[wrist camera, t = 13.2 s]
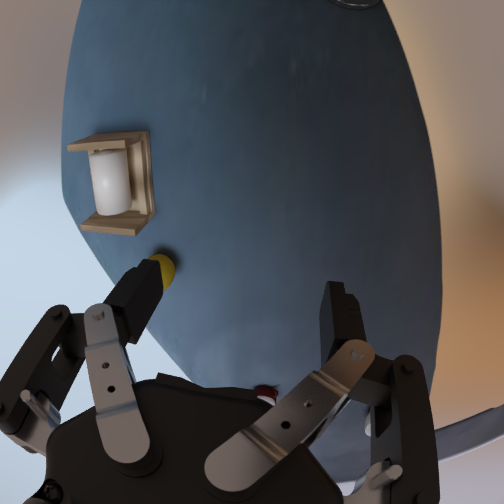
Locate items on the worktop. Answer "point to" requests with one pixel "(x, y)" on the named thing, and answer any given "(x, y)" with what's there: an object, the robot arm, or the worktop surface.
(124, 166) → the paper roll
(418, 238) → the worktop surface
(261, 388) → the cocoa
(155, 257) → the lemon
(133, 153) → the roll holder
